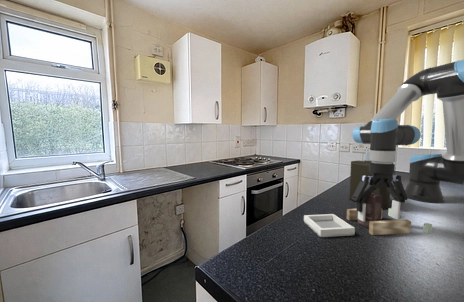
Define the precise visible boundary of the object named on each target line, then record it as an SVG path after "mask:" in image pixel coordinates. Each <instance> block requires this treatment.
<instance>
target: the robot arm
mask: <svg viewBox="0 0 464 302" xmlns="http://www.w3.org/2000/svg"><path fill="white" fill-rule="evenodd" d="M435 94H436V98H437V99H438V100H439V101H441V102H442V109H443V110H442V111H443V112H442V113H443V121H444V122H443V123H444V134H445V135H444V137H445V143H446V153H444V154H441V153H425V154H424V153H423V154H413V155H411V156H410V160H409V161H410V162H409V172H408V175H409V176H408V182H407V184H406V187H404V185H403V183H402V176H401V175H399V174H395V170H396V169H395V168H396V164H395V163H396V153H397V146H410V145H414V144H416V143H418V141H419V140H420V138H421V136H422V135H421V134H422V133H421V131H420V129H419V127H416V126H415V125H410V124H399V121H398V120H397V119H398V118H399V117H400V116H401V115H402V114H403V113H404V111H405V110H407V108H409V106H410V105H411V104H412V103H414V102H416V101H418V100H419V99H420V98H421V97H424V96H429V95H435ZM352 130H353V131H352V133H351V137H352V139H353V141H354V142H355V143H358V144H364V145H366V144H367V145H369V146H370V147H369V152H370V158H369V160H370V161H371V162H370V163H369V172H370V175H369V176H364V175H362V176H361V180H360V183H359V185H358V187H357V189H356V190H355V192H354V194H353V196H352V200H354V201H356V202H355V203H356V209H357V211H358V219H359V220H361V221H363V222H365V212H366V204H365V203H364V202H365V201H366V199H367V198H368V197H369V195H371V193H372V192H373V191H374V190H376V189H377V188H386V189H387V190H388V191H389V193H390V196H391V197H392V198H393V199H394V200H393V199H392V200H391V208H392V211H391V216H390V218H393V219H394V220H401V219H400V217H401V210H402V205H403V203H405V202H406V201H408V200H409V199H410V200H413V201H419V202H423V203H432V204H437V203H439V204H440V203H443V202H444V198H445V197H444V195H443V192H442V188H441V185H440V184H441V183H440V182H444V183H450V184H456V185H462V186H464V59H462V60H456V61H452V62H449V63H445V64H442V65H441V64H440V65H437V66H434V67H428V68H426V69H423V70H420V71H418V72H417V73H415V74H413V75H412V76H411V77H409V78H407V79H406V80H405V81H404V82H403V83H401V85H400V86H398V88H397V89H396V93H395V94H394V95H393V96H392V97H391V98H390V99H389V100H388V101H387V102H386V103H385V104H384V105H383V106H382V107H381V108H380V109H379V110H378V111H377V112H376V114H374V115H373V116H372V118H371V119H369V120H368V122H367V123H366V124H365V125H361V126H357V127H355V128H354V129H352ZM368 182H369V183H368ZM372 185H373V186H372ZM354 201H353V202H354Z"/></svg>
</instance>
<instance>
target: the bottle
mask: <svg viewBox="0 0 464 302" xmlns="http://www.w3.org/2000/svg"><path fill="white" fill-rule="evenodd" d="M369 158H370V151H365V158H364V159H365V160H351V161H350V173H349V177H350V178H349V181H350V182H349V197H348V198H349V201H350V200H351V201H350V202H355V203H357V202H356V201H354V200H352V196H353V194H354V192H355V190H356V189H357V187H358V185H359V183H360V180H361V176H362V175H364V176H369V175H370V172H369V163H370V162H371V161H370V160H369ZM368 183H369V182H368ZM372 186H373V185H372ZM372 193H374V194H378V195H382V206H381V208H382V209H383V210H384V209H387V208H388V209H389V208H390V201H391V200H390V199H391V198H390V197H391V194H390V193H389V191H388V190H387V189H386V188H377V189H376V190H374V191H373V192H372Z"/></svg>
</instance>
